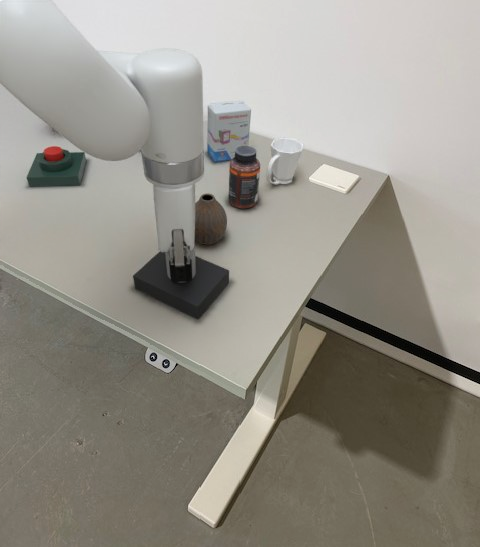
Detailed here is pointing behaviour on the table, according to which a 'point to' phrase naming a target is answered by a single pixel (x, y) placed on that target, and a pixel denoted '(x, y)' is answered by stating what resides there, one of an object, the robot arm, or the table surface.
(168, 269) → the dial
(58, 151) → the lid button
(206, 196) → the vase
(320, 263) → the table surface
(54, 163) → the green button base
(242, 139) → the ink box
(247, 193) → the supplement bottle
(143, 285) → the dial panel
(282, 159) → the cup
